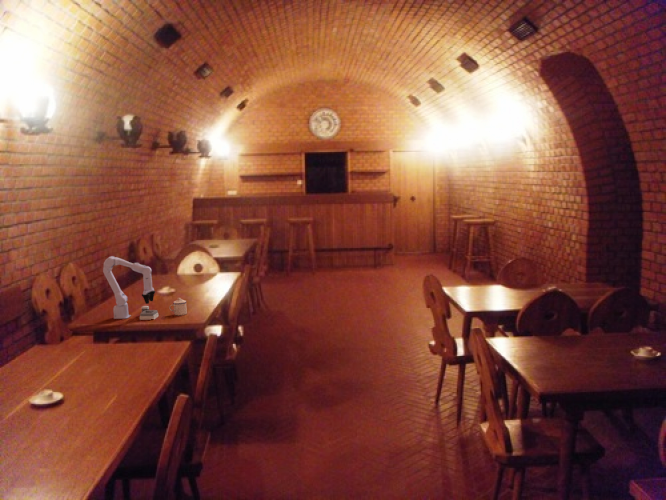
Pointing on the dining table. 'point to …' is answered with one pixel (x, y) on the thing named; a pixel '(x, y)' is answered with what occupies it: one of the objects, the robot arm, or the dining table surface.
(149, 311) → the grey square tray
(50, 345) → the dining table surface
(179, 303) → the teacup with lid
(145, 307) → the gray domed cylinder
